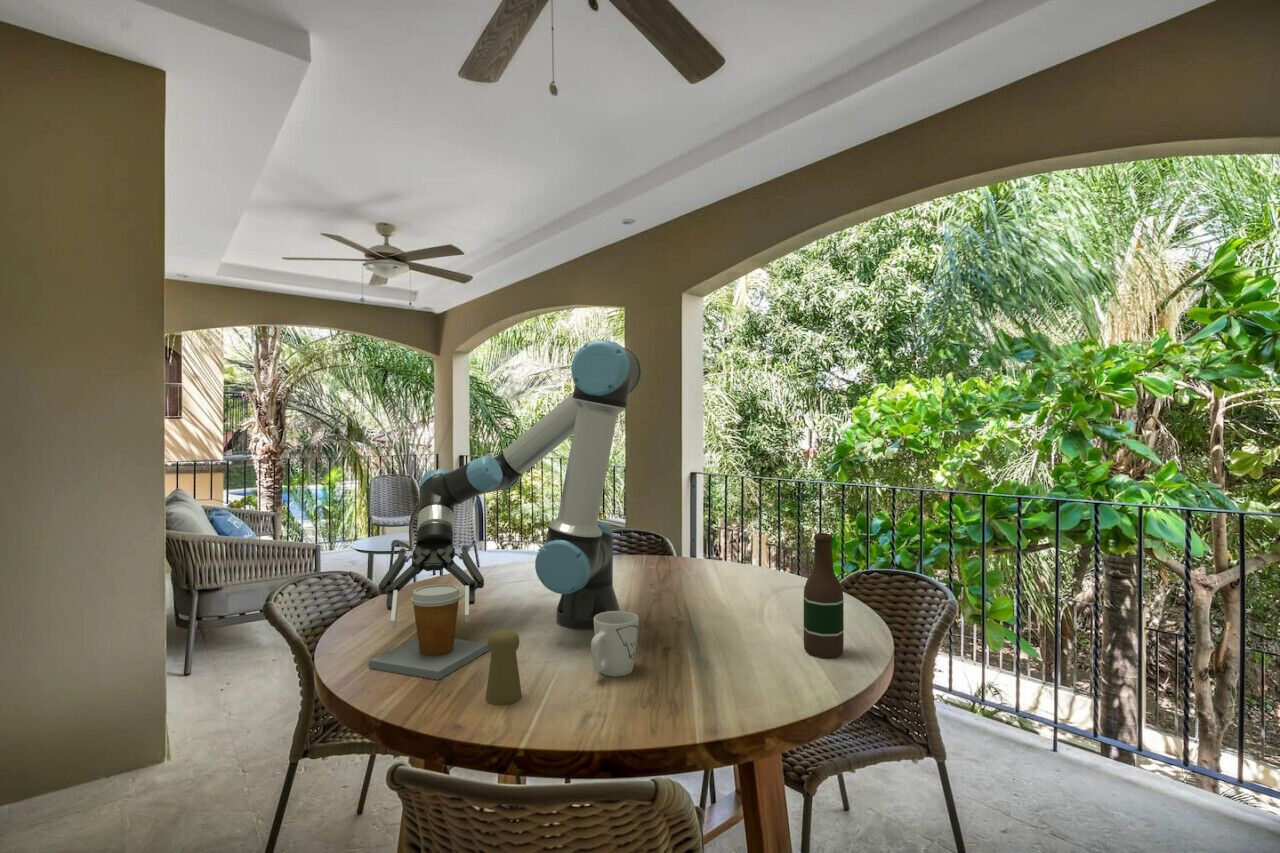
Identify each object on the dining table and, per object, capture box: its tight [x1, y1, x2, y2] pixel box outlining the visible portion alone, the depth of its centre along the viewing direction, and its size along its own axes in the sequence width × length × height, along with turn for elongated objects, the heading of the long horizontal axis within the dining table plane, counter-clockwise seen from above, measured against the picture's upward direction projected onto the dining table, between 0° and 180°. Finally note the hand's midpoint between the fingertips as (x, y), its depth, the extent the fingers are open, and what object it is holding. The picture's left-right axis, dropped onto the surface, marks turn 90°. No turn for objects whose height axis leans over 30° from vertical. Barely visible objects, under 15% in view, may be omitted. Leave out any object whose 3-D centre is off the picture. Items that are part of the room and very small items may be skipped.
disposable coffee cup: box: [410, 584, 462, 656], centre depth 125 cm, size 10×10×12 cm
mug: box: [590, 610, 640, 678], centre depth 117 cm, size 11×8×10 cm
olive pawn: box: [485, 629, 523, 706], centre depth 107 cm, size 6×6×11 cm
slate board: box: [368, 637, 490, 681], centre depth 124 cm, size 16×16×2 cm
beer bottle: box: [803, 532, 845, 659], centre depth 128 cm, size 8×8×24 cm
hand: (430, 621), depth 122 cm, fingers open, 13 cm apart
